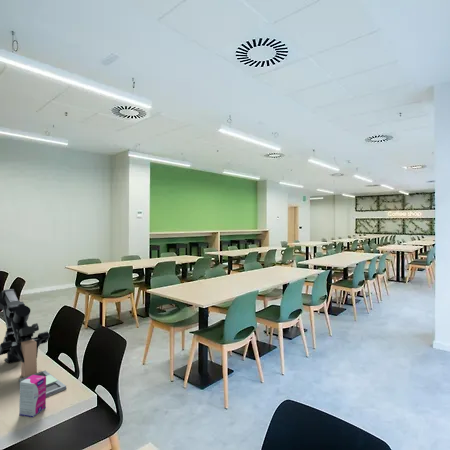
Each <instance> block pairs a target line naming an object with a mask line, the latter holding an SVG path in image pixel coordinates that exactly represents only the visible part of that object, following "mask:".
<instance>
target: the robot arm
mask: <svg viewBox="0 0 450 450" xmlns="http://www.w3.org/2000/svg"><path fill="white" fill-rule="evenodd" d="M0 310H2V313H3V317H4V322H5V326H6V331H5V335H4V338H3V340H2V342H1V343H0V356H2V355H5V354H6V355H7V356H6V357H5V358H4V361H5V362H6V363H7V364H12V363H15V362H18V361H20V362H21V361H22V362H23V363H24V357H23V354H22V352H21V342H25V341H29V340H32V339H33V340H34V341H36V342H37V354H39V347H40V345H44V344H46V343H47V342H48V341H49V339H50V337H51V334H50V332H49V331H44V332H39V333H38V334H37V336H35V337H34V334H35V333H36V332H38V331H39V329H40V328H39V327H40V326H39V324H38V322H36V323H33V324H32V325H31V326H30V325H28V319H29V318H30V314H31V308H30V307H29V306H28V305H25V303H24V302H23V301H20V300H19V299H18V297H17V292H16V291H15V289H14V288H9V289H4V290H1V292H0Z"/></svg>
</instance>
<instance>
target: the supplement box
mask: <svg viewBox="0 0 450 450" xmlns="http://www.w3.org/2000/svg"><path fill="white" fill-rule="evenodd" d="M46 400H47V397H46V376H38V375H32V376H30V377H28V378H26V379H25V380H23V381H21V382H19V405H18V407H19V411H18V412H19V414H18V415H19V416H20V417H27V418H34V417H35V416H37V415H38V414H39V413H42V411H43V410H45V409H46V402H47V401H46Z"/></svg>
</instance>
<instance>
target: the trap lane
mask: <svg viewBox="0 0 450 450" xmlns="http://www.w3.org/2000/svg"><path fill="white" fill-rule="evenodd" d="M33 375H38V376H46V398H47V397H50V396H51V395H54V394H57V393H60V392H62V391H64V390H67V385H66V384H64V383H63V382H62V381H60V380H59V379H58V378H56V377H55V376H54V375H52V374H51V373H50V372H48V371H47V370H46V369H45V370H42V371H39V372H37V373H36V374H33ZM30 376H32V375H30ZM30 376H27V377H21V378H19V379H18V382H19V383H20V382H21V381H23V380H25V379H26V378H28V377H30Z"/></svg>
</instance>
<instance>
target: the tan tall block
mask: <svg viewBox="0 0 450 450" xmlns="http://www.w3.org/2000/svg"><path fill="white" fill-rule="evenodd" d="M21 352H22V354H23V357H24V363H23V362H22V361H20V363H21V364H20V365H21V366H20V367H21V368H20V371H21V372H20V373H21V374H20V375H21V376H22V378H24V377H27V376H30V375H33V374H36V373H38V372H37V371H38V367H37V365H38V362H37V358H38V353H37V342H36V341H34V340H33V339H32V340H29V341H25V342H21Z"/></svg>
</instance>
